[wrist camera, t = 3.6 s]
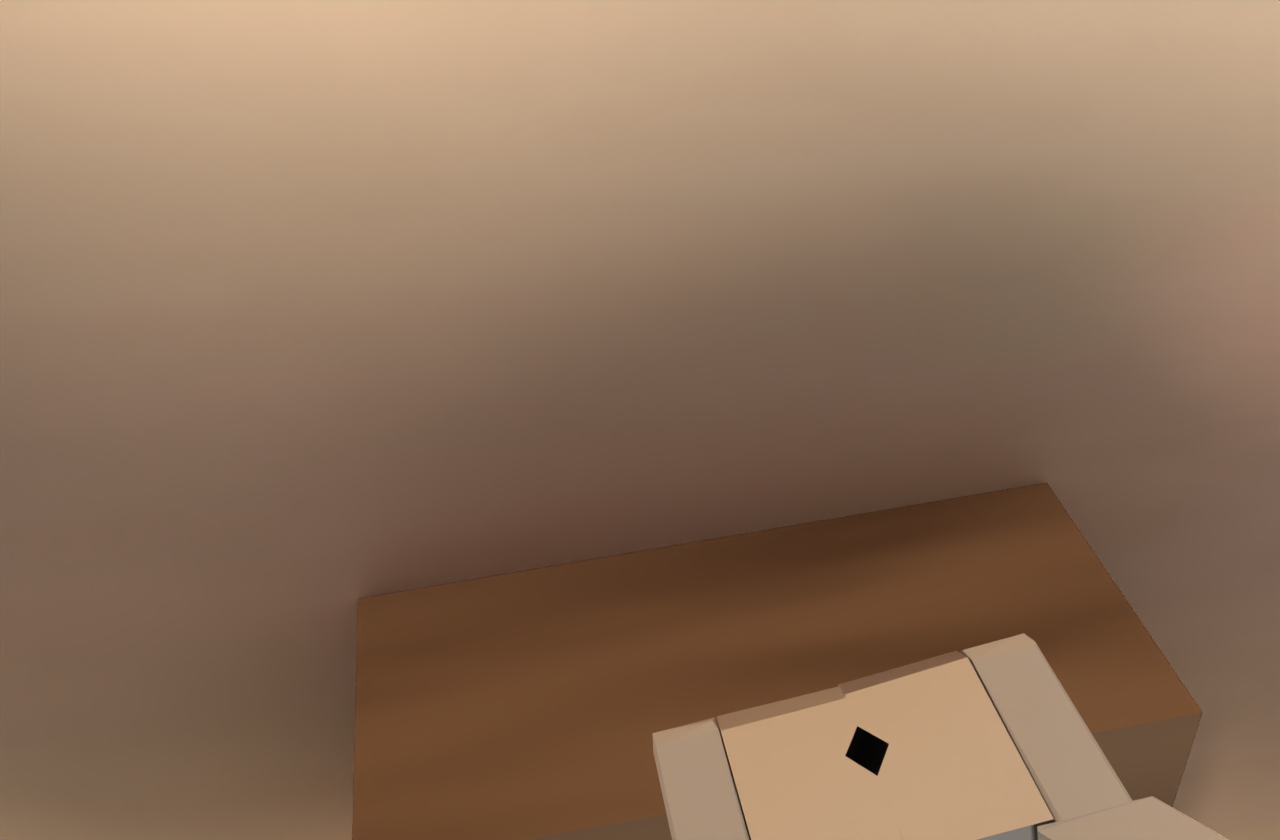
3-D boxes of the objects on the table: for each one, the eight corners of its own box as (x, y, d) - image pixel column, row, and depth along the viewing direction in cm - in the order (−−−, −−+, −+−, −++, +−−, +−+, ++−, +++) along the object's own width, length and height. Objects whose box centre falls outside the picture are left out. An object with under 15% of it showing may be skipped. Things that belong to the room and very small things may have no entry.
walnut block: (358, 586, 19) (351, 872, 15) (1039, 472, 20) (1202, 712, 16) (445, 879, 24) (457, 1154, 20) (989, 776, 25) (1104, 1017, 21)
